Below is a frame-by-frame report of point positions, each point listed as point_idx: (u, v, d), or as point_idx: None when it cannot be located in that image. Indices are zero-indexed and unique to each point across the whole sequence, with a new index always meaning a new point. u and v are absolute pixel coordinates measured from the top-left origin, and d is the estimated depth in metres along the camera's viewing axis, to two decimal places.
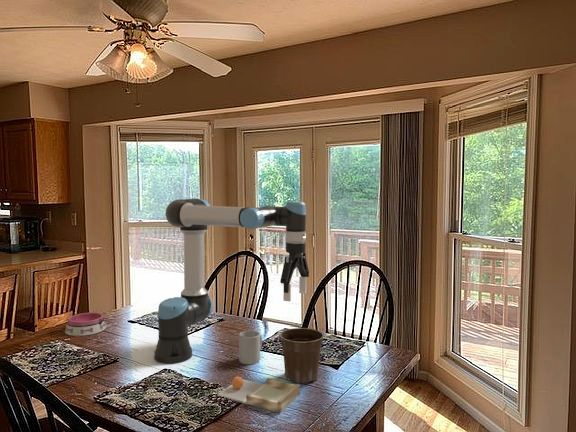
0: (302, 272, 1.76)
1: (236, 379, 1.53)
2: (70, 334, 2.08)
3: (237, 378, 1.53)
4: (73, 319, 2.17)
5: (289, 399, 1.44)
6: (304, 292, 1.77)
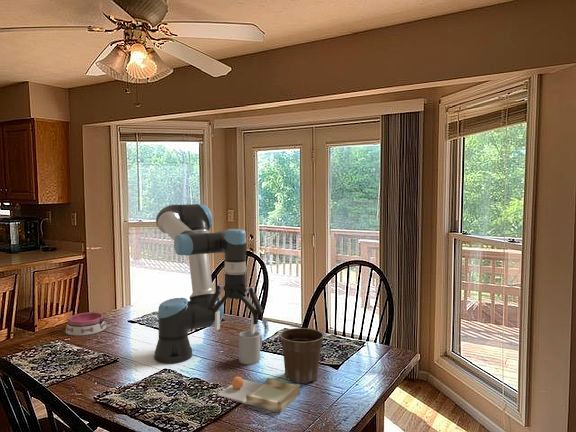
0: None
1: (236, 379, 1.53)
2: (70, 334, 2.09)
3: (237, 378, 1.53)
4: (73, 319, 2.17)
5: (289, 399, 1.44)
6: None
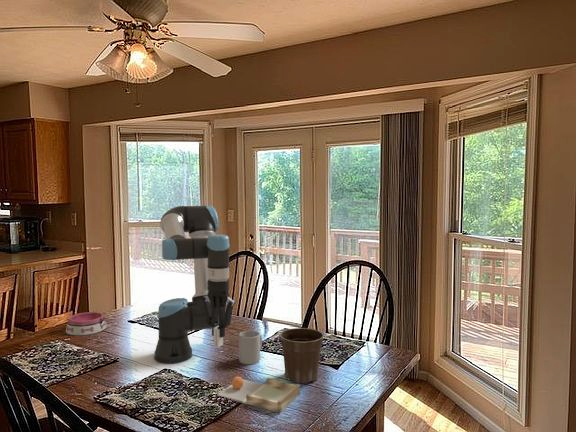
0: None
1: (236, 379, 1.53)
2: (71, 333, 2.09)
3: (237, 378, 1.53)
4: (73, 319, 2.18)
5: (289, 399, 1.44)
6: None
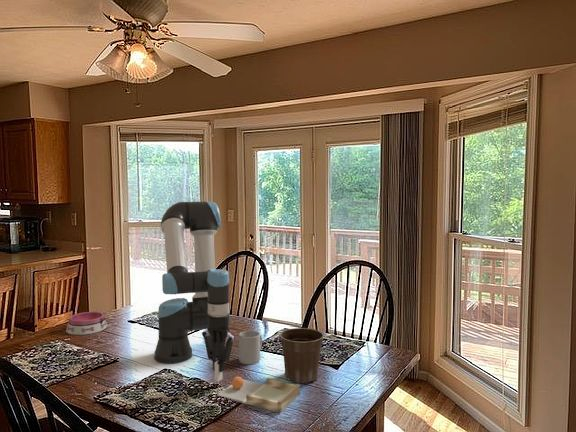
0: None
1: (236, 379, 1.53)
2: (71, 333, 2.10)
3: (237, 378, 1.53)
4: (74, 318, 2.18)
5: (289, 399, 1.44)
6: None
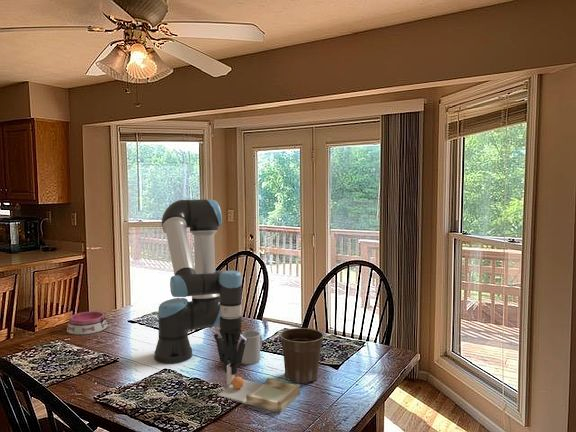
0: None
1: (236, 379, 1.53)
2: (72, 333, 2.10)
3: (237, 378, 1.53)
4: (74, 318, 2.19)
5: (289, 399, 1.44)
6: None
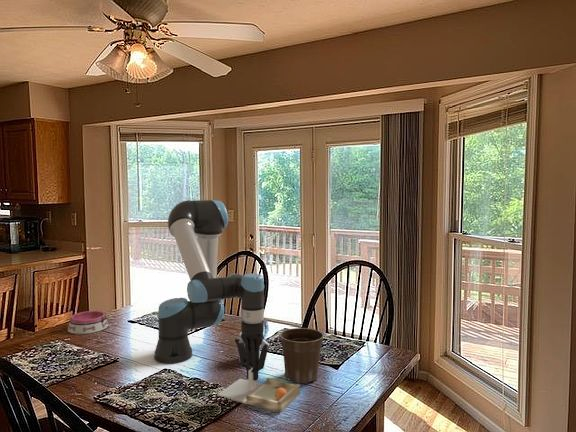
0: None
1: None
2: (73, 332, 2.11)
3: None
4: (75, 317, 2.20)
5: (289, 399, 1.44)
6: None
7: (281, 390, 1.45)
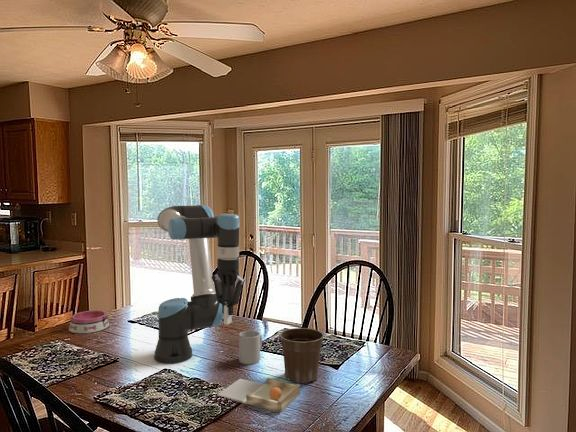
0: None
1: (278, 396, 1.45)
2: (74, 331, 2.12)
3: (279, 395, 1.45)
4: (76, 317, 2.21)
5: (289, 399, 1.44)
6: None
7: (271, 390, 1.46)
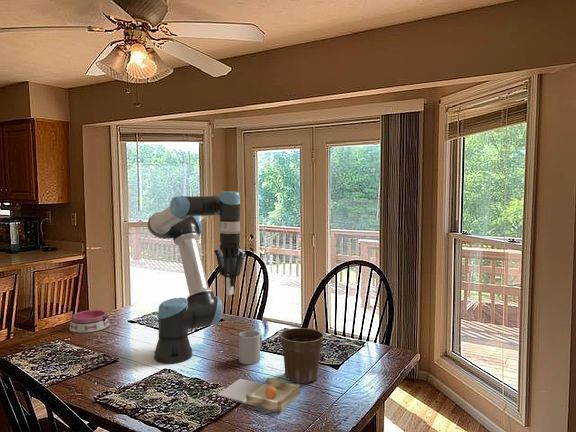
0: None
1: (273, 392, 1.45)
2: (74, 331, 2.13)
3: (274, 390, 1.46)
4: (77, 316, 2.21)
5: (289, 399, 1.44)
6: None
7: (265, 392, 1.47)
